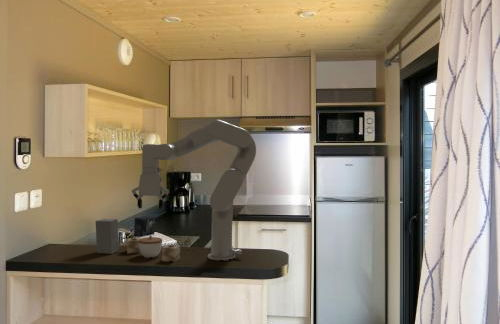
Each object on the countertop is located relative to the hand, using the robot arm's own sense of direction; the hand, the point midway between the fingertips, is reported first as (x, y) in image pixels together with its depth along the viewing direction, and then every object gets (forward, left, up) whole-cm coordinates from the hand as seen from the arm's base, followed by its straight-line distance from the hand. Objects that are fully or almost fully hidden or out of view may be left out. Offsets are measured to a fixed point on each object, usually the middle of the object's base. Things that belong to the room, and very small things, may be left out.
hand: (150, 208), depth 190 cm
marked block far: (+10, -8, -22) cm, 26 cm away
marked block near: (-11, +6, -22) cm, 26 cm away
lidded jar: (0, 0, -22) cm, 22 cm away
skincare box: (+22, -5, -22) cm, 32 cm away
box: (+17, -51, -22) cm, 58 cm away
